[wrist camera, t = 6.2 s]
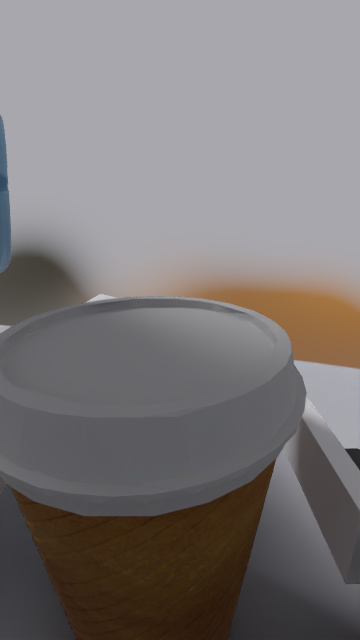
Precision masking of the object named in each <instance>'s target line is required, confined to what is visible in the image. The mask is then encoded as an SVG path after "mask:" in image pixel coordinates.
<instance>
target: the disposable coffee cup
mask: <svg viewBox="0 0 360 640" xmlns="http://www.w3.org/2000/svg"><path fill="white" fill-rule="evenodd" d="M305 402H306V389H305V385H304V382H303V378H302V376H301V375H300V373H299V371H298V370H297V368H296V367H295V365H294V361H293V353H292V345H291V342H290V339H289V337H288V335H287V333H286V332H285V331H284V330H283V329H282V328H281V327H280V326H279V325H278V324H276V323H275V322H274V321H273V320H271V319H269V318H267V317H265V316H263V315H261V314H259V313H257V312H255V311H252V310H249V309H246V308H243V307H239V306H236V305H233V304H229V303H223V302H218V301H212V300H207V299H200V298H189V297H174V296H173V297H172V296H149V297H125V298H115V299H106V300H99V301H93V302H86V303H81V304H76V305H71V306H67V307H63V308H60V309H56V310H53V311H50V312H47V313H43V314H40V315H37V316H34V317H31V318H29V319H27V320H25V321H23V322H21V323H19V324H17V325H15V326H12V327H10V328H9V329H7V330H6V331H4V332H2V333H1V334H0V476H1V477H2V478H3V480H4V481H5V482H6V483H7V484H8V485H9V486H10V487H11V489H12V491H13V493H14V495H15V497H16V500H17V501H18V502H19V508H20V510H21V512H22V514H23V516H24V517H25V520H26V524H27V526H28V528H29V530H30V532H31V533H32V538H33V540H34V542H35V544H36V546H37V547H38V551H39V553H40V555H41V558H42V560H43V561H44V565H45V568H46V570H47V572H48V573H49V577H50V579H51V581H52V583H53V585H54V588H55V591H56V593H57V595H58V597H59V598H60V602H61V605H62V607H63V608H64V611H65V614H66V616H67V618H68V619H69V623H70V625H71V627H72V629H73V631H74V634H75V636H76V638H77V640H227V639H228V635H229V630H230V626H231V622H232V619H233V615H234V611H235V608H236V604H237V600H238V597H239V593H240V589H241V586H242V582H243V578H244V575H245V572H246V569H247V564H248V560H249V557H250V553H251V549H252V546H253V541H254V538H255V535H256V532H257V527H258V523H259V520H260V517H261V512H262V509H263V506H264V502H265V497H266V494H267V491H268V488H269V482H270V479H271V476H272V473H273V468H274V465H275V461H276V458H277V457H278V455H279V453H280V452H281V450H282V449H283V447H284V445H285V444H286V443H287V442H288V441H289V440H290V439H291V438H292V437H293V436H294V435H295V434H296V431H297V428H298V426H299V423H300V420H301V418H302V415H303V412H304V410H305Z"/></svg>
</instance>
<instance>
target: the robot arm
mask: <svg viewBox="0 0 360 640" xmlns="http://www.w3.org/2000/svg"><path fill="white" fill-rule="evenodd" d="M5 143H6V142H5V133H4V124H3V120H2V117H1V115H0V272H2V271H4V270H5V269H6V267H7V266H8V265H9V262H10V259H11V224H10V206H9V205H10V204H9V191H8V186H7V185H8V176H7V155H6V144H5ZM283 448H284V450H285V452H286V455H287V457H288V459H289V461H290V463H291V466H292V468H293V470H294V472H295V474H296V476H297V479H298V481H299V483H300V485H301V487H302V490H303V492H304V494H305V496H306V498H307V501H308V503H309V505H310V507H311V509H312V511H313V514H314V516H315V518H316V520H317V522H318V525H319V527H320V529H321V531H322V533H323V536H324V538H325V540H326V542H327V544H328V546H329V549H330V551H331V553H332V555H333V557H334V560H335V562H336V564H337V566H338V568H339V571H340V573H341V575H342V577H343V579H344V581H345V584H360V450H359V449H344V448H343V446H342V445H341V443H340V442H339V441H338V439H337V438H336V436H335V435H334V434H333V432H332V431H331V429H330V428H329V427H328V425H327V424H326V422H325V421H324V420H323V418H322V417H321V415H320V414H319V413H318V411H317V410H316V408H315V407H314V406H313V404H312V403H311V401H310V400H309V398H308V397H307V396H306V402H305V410H304V412H303V415H302V418H301V420H300V423H299V426H298V428H297V431H296V434H295V435H294V436H293V437H292V438H291V439H290V440H289V441H288V442H287V443H286V444H285V445H284V447H283ZM6 485H7V483H6V482H5V481H4V480H3V478H2V477H1V476H0V494H1V493H2V491H3V490H4V488H5V486H6Z"/></svg>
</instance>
